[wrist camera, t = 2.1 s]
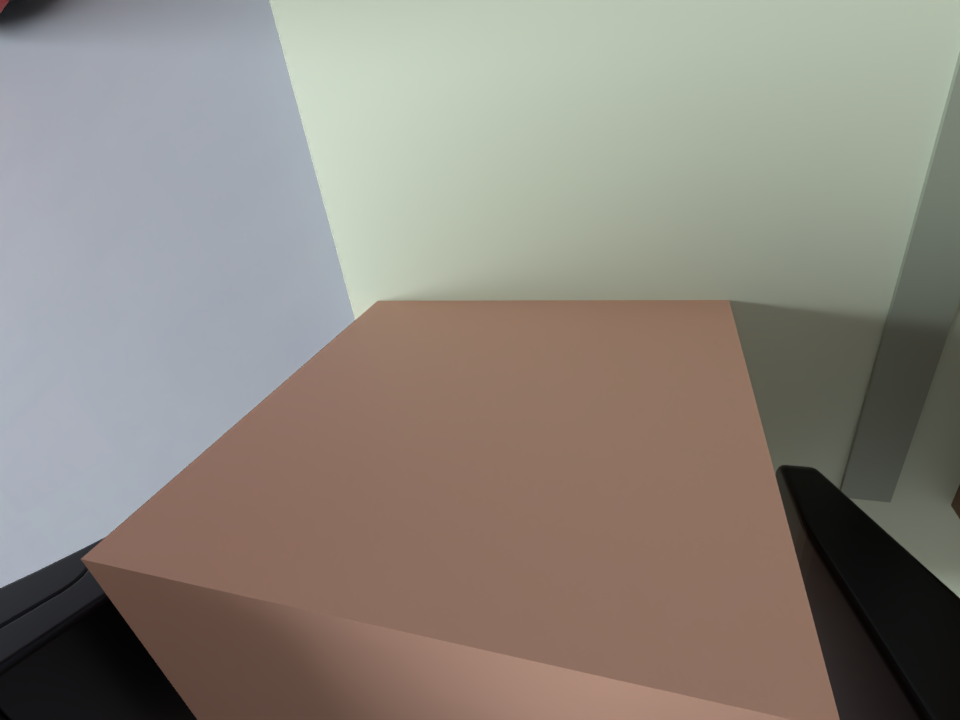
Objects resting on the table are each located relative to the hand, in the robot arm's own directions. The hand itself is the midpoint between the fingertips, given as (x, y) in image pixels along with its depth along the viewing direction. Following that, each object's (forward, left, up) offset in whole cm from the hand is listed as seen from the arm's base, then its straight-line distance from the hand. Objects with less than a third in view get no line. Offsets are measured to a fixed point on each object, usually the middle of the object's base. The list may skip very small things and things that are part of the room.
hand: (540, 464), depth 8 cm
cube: (0, 0, -1) cm, 1 cm away
